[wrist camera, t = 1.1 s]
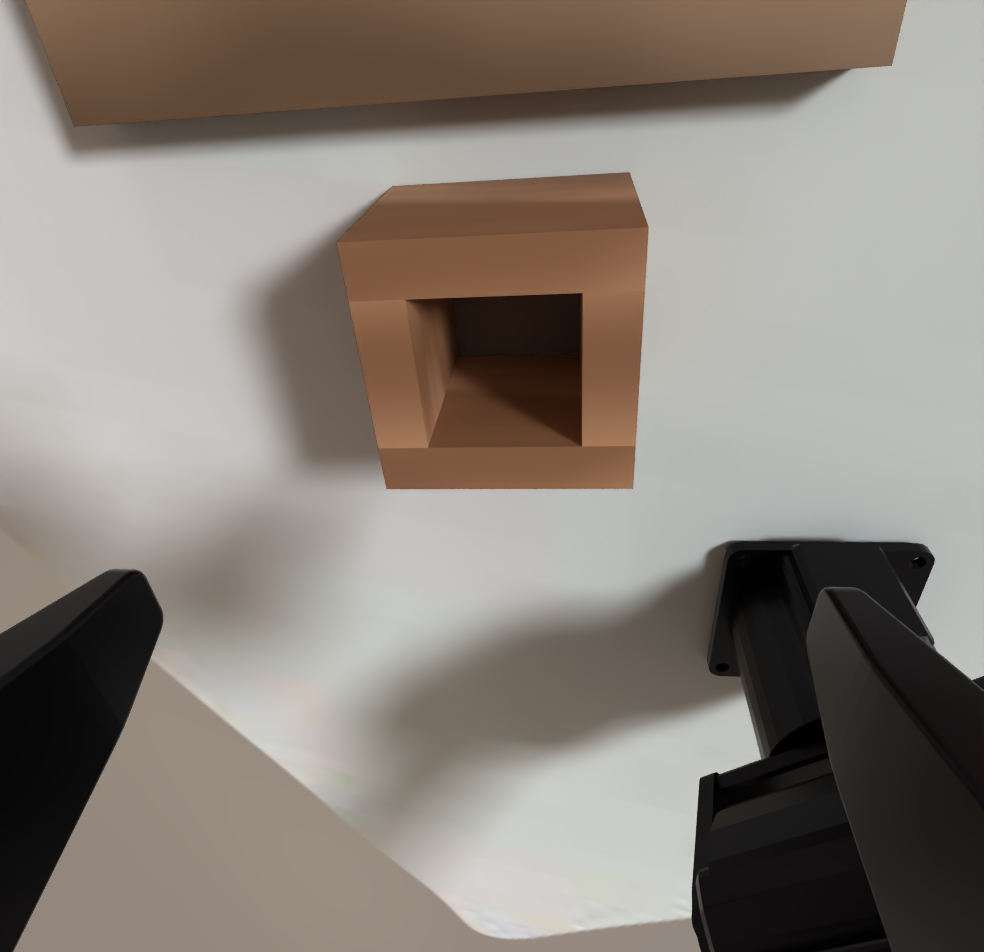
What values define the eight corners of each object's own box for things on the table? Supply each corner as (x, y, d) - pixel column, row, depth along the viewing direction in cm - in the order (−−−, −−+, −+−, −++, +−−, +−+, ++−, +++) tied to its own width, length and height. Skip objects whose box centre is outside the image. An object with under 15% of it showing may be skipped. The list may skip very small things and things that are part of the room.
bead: (620, 389, 20) (632, 488, 16) (423, 393, 20) (386, 488, 16) (629, 172, 16) (648, 227, 12) (392, 186, 17) (336, 242, 13)
